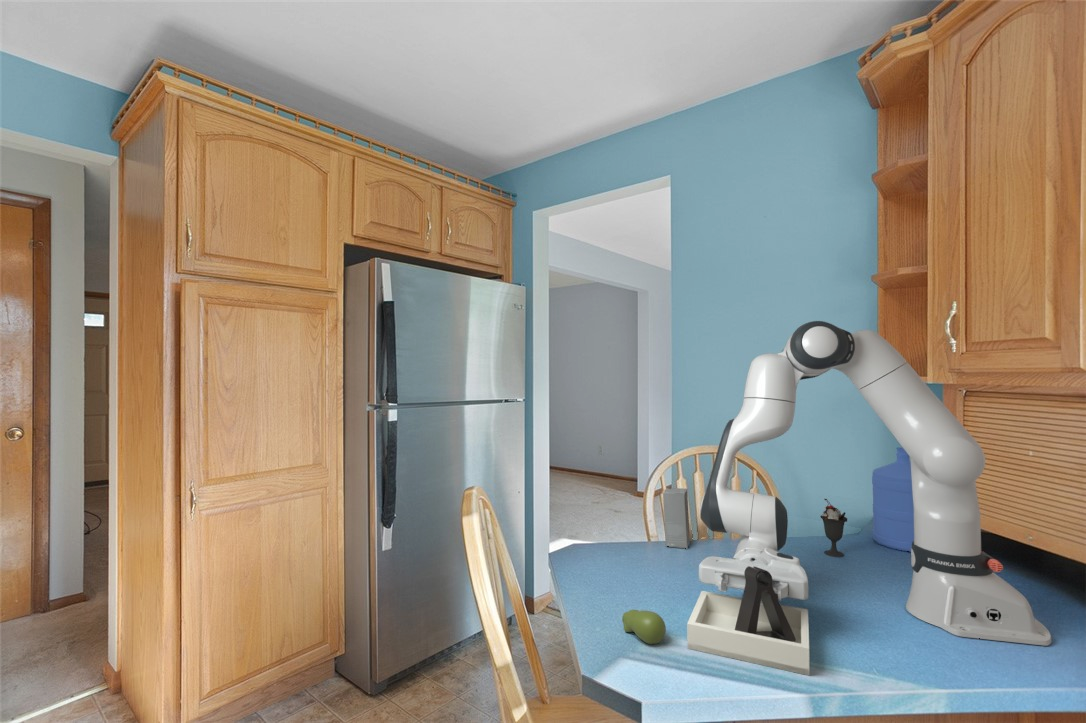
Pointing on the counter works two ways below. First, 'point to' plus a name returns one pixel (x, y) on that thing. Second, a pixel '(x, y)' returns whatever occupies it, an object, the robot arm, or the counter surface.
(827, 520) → the sundae
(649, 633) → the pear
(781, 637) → the phone stand
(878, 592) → the counter surface
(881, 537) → the water jug
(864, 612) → the counter surface
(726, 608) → the tray
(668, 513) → the skincare box
